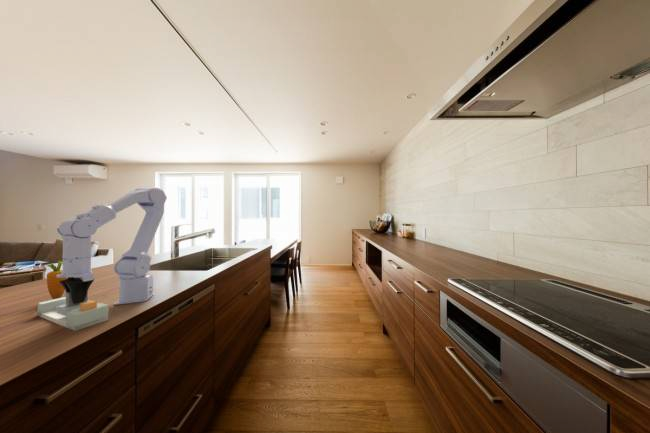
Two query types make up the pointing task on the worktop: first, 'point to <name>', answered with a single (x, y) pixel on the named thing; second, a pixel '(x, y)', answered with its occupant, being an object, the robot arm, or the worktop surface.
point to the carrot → (55, 281)
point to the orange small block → (88, 305)
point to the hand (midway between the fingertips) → (76, 302)
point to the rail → (72, 314)
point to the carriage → (70, 304)
